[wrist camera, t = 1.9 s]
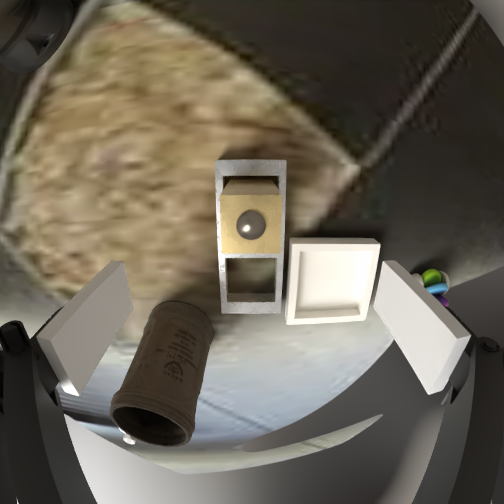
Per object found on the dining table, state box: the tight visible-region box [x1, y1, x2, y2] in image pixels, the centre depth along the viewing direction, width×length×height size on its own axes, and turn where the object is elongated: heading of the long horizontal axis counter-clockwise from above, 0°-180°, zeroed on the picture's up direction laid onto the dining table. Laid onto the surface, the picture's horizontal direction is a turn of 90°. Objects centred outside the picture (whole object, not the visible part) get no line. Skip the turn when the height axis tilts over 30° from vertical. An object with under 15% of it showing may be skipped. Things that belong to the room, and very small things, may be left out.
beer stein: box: [109, 302, 213, 447], centre depth 33 cm, size 15×10×20 cm
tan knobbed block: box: [220, 179, 282, 254], centre depth 28 cm, size 5×5×12 cm
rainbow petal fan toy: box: [412, 269, 450, 307], centre depth 36 cm, size 8×10×7 cm
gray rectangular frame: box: [215, 159, 286, 314], centre depth 34 cm, size 20×8×2 cm, turn 0°
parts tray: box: [285, 237, 381, 325], centre depth 37 cm, size 12×12×2 cm
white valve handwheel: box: [119, 428, 135, 444], centre depth 52 cm, size 9×8×4 cm
